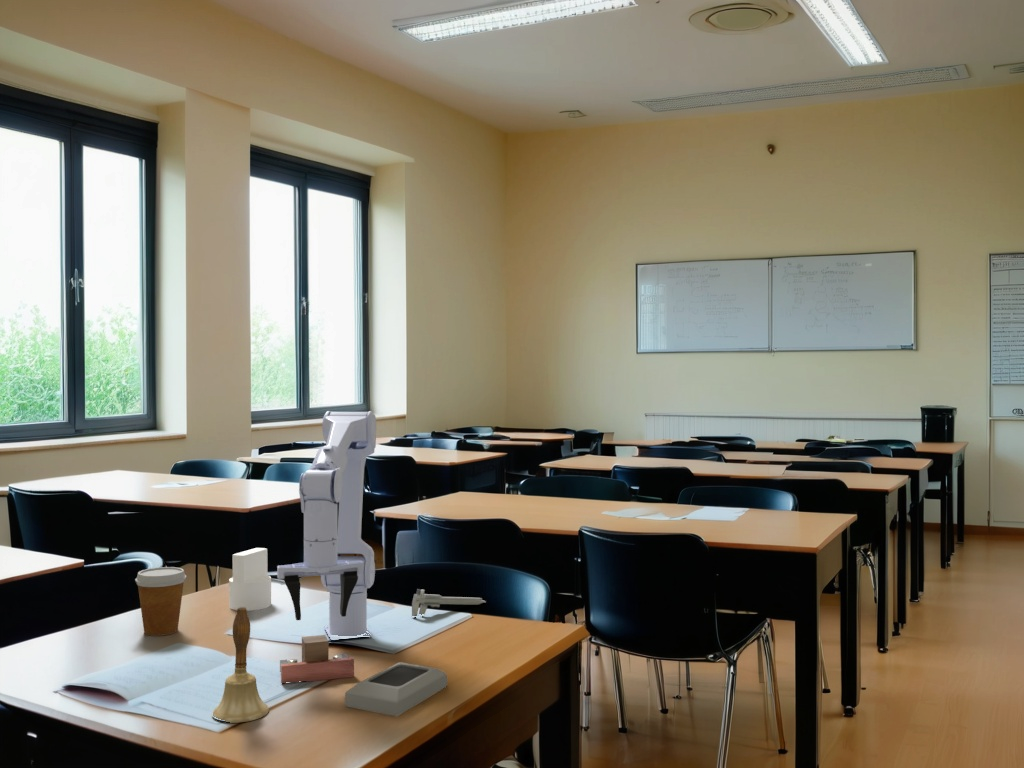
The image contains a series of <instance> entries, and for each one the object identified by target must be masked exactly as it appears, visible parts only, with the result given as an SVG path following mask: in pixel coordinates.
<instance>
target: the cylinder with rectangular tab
mask: <svg viewBox="0 0 1024 768" xmlns="http://www.w3.org/2000/svg"><path fill="white" fill-rule="evenodd" d="M228 581H229V582H228V585H229V586H228V587H229V589H228V590H229V591H228V594H229V595H228V596H229V598H228V599H229V600H228V601H229V603H228V604H229V605H228V607H229V609H231V610H235V611H237V609H238V608H240V607H245V608H246V611H247V612H248V611H259V610H263V609H267V608H269V607H271V605H272V577H271V575H268V548H265V547H255V548H251V549H248V550H244V551H240V552H236V553H234V554H232V577H230V578H229V579H228Z"/></svg>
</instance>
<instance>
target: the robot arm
mask: <svg viewBox="0 0 1024 768" xmlns="http://www.w3.org/2000/svg"><path fill="white" fill-rule="evenodd" d="M321 424H322V432H321V433H322V437H323V440H324V441H325V445H324V446H322V447H320V448H319V450H318V451H316V455H315V457H314V459H313V461H312V464H311V466H310V468H309V469H307V470H306V471H305V472H302V473H301V475H300V477H299V485H298V489H299V490H298V492H299V499H300V510H301V513H303V562H298V563H292V564H284V565H282V564H281V565H276V568H277V569H276V570H277V571H276V572H277V573H276V577H277V580H283V581H284V584H285V585H286V588H287V590H288V592H289V595H290V597H291V601H292V604H293V608H294V609H293V610H294V615H295V620H296V621H301V620H302V612H301V581H300V577H301V578H305V577H315V576H316V577H317V576H320V582H321V584H322V585H323V587H324V588H326V592H329V600H328V603H329V605H328V607H329V608H328V610H329V611H328V615H329V616H328V617H329V618H328V620H329V622H328V625H325V626H324V627H323V628H325V629H324V631H325V630H326V631H325V633H326V632H327V633H326V635H327V634H328V635H329V636H331V635H338V636H357V635H361V634H364V633H366V634H367V635H366V634H365V635H363V636H371V637H372V633H371V632H370V631H369V629H368V627H367V623H368V622H367V621H368V619H367V617H368V616H367V615H368V613H367V611H368V609H367V608H368V607H367V605H368V604H367V603H368V602H367V600H368V598H367V597H368V593H367V591H368V589H370V588H371V587H372V586H373V585H374V582H375V576H376V575H375V574H376V563H375V552H374V549H373V547H372V546H370V545H369V544H368V543H366V541H364V540H363V539H362V521H363V520H362V518H363V502H364V501H363V497H364V496H363V495H364V479H365V467H366V460H367V457H369V456H370V455H373V454H374V453H375V448H376V445H377V444H376V442H377V418H376V414H375V413H374V411H371V410H369V411H331V410H327V411H326V412H325V413H324V415H323V418H322V423H321ZM341 554H346V555H341ZM347 554H349V555H347ZM350 554H353V555H350ZM355 554H356V555H355ZM361 555H362V556H361ZM367 629H368V630H367ZM366 631H368V632H369V633H370V634H371V635H370V634H369V633H367V632H366ZM368 634H369V635H368ZM328 635H327V636H328Z"/></svg>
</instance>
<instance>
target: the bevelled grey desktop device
mask: <svg viewBox="0 0 1024 768" xmlns="http://www.w3.org/2000/svg"><path fill="white" fill-rule="evenodd" d="M446 686H447V687H448V675H447V673H446V672H445V671H443V670H442V669H439V668H437V667H431V666H425V665H420V664H413V663H408V662H402V661H400V662H397V663H395V664H392V665H390V666H389V667H388V668H385V669H383V670H381V671H379V672H377V673H376V674H374V675H371V676H369V677H367V678H365V679H363V680H362V681H360V682H358V683H357V684H355V685H353V686H352V687H351V688H349V689H347V690H346V691H345V693H344V694H345V695H344V696H345V697H344V698H345V700H344V705H345V707H348V708H352V709H357V710H363V711H368V712H373V713H378V714H382V715H387V716H388V715H389V716H392V717H398V716H400V715H402V714H403V713H405V712H407V711H409V710H410V709H412V708H414V707H415V706H417V705H419V704H420V703H422V702H425V700H428V698H431V697H432V696H433V695H436V693H439V692H440V691H442V690H444V689H445V688H447V687H446ZM444 687H445V688H444ZM443 688H444V689H443ZM441 689H442V690H441ZM438 691H439V692H438Z"/></svg>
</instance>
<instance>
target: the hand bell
mask: <svg viewBox="0 0 1024 768" xmlns="http://www.w3.org/2000/svg"><path fill="white" fill-rule="evenodd" d="M235 613H236V614H235V617H234V619H233V623H232V639H233V644H234V647H235V660H234V661H235V662H234V663H235V664H234V666H235V667H234V673H233V674H231V675H229V676H228V677H226V679H225V680H224V681H225V682H224V689H223V695H222V697H221V700H220V702H219V704H218V706H216V707H215V708H214V709H213V711H212V713H213V716H214V717H216V718H218V719H221V720H225V721H227V722H230V724H233V723H234V724H238V723H244V722H252V721H255V720H258V719H260V718H263V717H265V716H266V715H267V714H268V713H269V711H270V708H269V706H268V704H267V703H266V702H264V701H263V699H262V698H261V696H260V693H259V690H258V685H257V679H256V676H255V675H253V674H251V673H249V672H248V671H247V667H248V666H247V663H248V662H247V650H248V649H247V648H248V644H249V640H250V636H251V622H250V617H249V615H248V611H246V608H245V607H240V608H238V609H237V610H236V612H235Z"/></svg>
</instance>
